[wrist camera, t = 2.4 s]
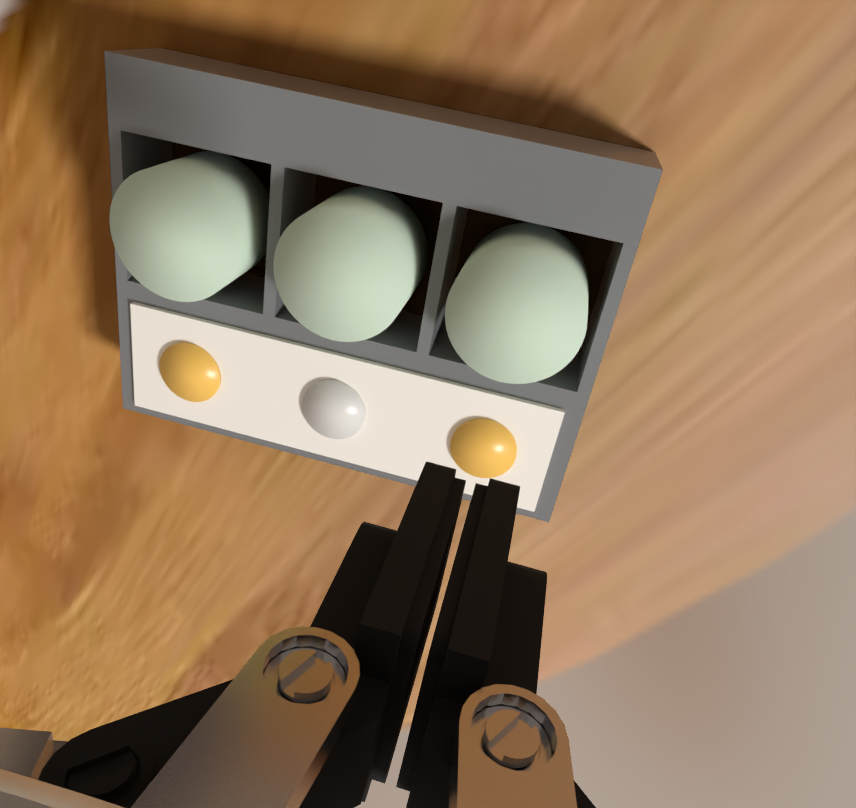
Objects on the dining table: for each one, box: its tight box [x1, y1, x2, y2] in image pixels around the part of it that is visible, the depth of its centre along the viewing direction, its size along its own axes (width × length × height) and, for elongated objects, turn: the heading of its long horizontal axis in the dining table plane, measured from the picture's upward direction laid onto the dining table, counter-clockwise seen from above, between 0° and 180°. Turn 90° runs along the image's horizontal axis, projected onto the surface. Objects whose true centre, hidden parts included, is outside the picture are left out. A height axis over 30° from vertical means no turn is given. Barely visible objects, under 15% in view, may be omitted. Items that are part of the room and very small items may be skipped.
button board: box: [104, 48, 663, 522], centre depth 24 cm, size 12×16×3 cm
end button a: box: [109, 151, 270, 302], centre depth 22 cm, size 4×4×3 cm
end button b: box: [445, 223, 589, 384], centre depth 21 cm, size 4×4×3 cm
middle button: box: [273, 186, 428, 342], centre depth 22 cm, size 4×4×3 cm
